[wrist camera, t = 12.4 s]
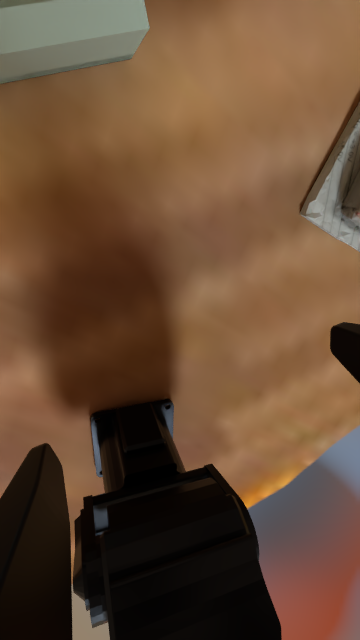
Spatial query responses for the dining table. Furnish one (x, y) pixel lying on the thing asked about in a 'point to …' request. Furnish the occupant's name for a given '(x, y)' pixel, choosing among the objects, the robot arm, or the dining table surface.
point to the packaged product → (339, 189)
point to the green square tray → (67, 35)
